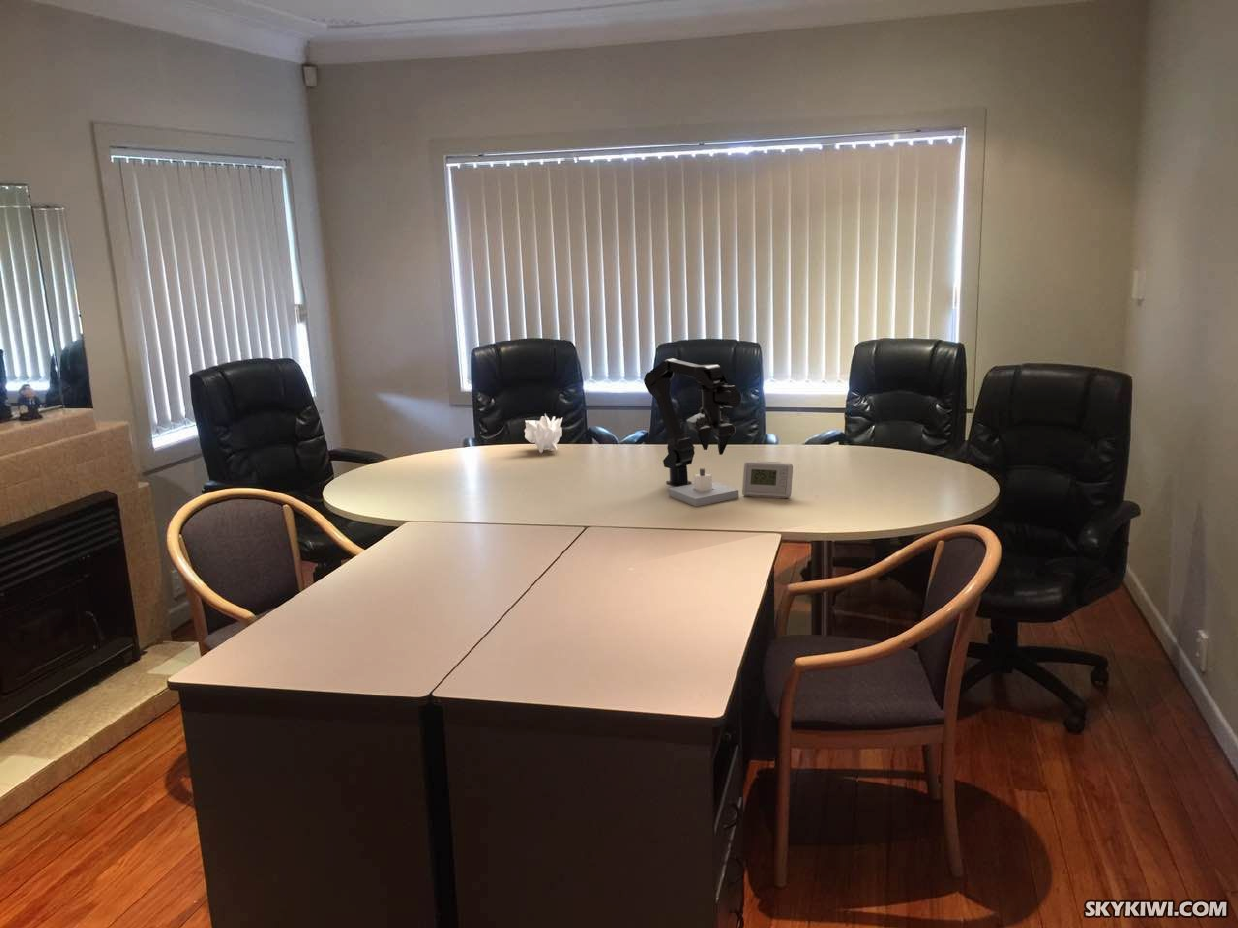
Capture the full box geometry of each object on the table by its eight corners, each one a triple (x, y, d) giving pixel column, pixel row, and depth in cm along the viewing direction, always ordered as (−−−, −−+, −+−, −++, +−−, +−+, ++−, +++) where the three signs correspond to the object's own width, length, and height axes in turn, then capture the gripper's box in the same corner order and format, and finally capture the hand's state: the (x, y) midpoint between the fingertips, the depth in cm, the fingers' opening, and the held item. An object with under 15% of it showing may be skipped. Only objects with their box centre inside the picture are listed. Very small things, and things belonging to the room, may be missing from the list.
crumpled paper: (576, 418, 407) (547, 399, 399) (562, 456, 401) (532, 438, 393) (549, 425, 423) (520, 408, 415) (535, 462, 416) (506, 445, 409)
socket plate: (669, 496, 332) (668, 488, 331) (710, 487, 339) (710, 480, 338) (695, 506, 318) (695, 498, 317) (738, 497, 325) (738, 490, 324)
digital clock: (739, 496, 327) (738, 463, 324) (752, 489, 334) (751, 457, 331) (785, 502, 317) (784, 468, 315) (798, 495, 325) (797, 462, 322)
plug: (694, 495, 329) (693, 468, 327) (705, 493, 331) (704, 466, 329) (701, 498, 326) (700, 471, 324) (712, 496, 327) (711, 469, 325)
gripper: (674, 404, 333) (676, 451, 336) (705, 411, 317) (707, 461, 320) (704, 399, 338) (705, 446, 341) (735, 407, 321) (737, 455, 325)
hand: (713, 452), depth 332 cm, fingers open, 9 cm apart
